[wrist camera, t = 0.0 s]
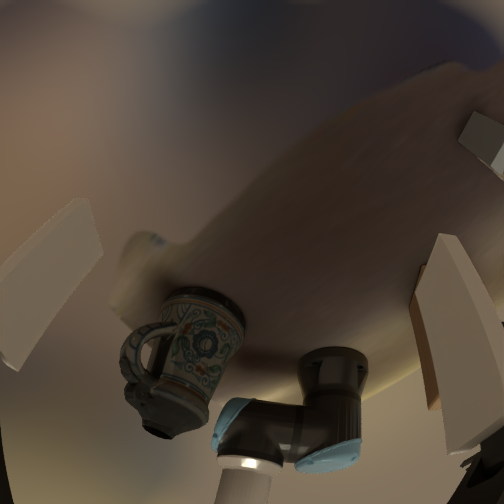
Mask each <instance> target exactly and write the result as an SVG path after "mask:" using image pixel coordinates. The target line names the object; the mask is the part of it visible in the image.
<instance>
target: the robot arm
mask: <svg viewBox="0 0 504 504" xmlns="http://www.w3.org/2000/svg"><path fill="white" fill-rule="evenodd" d="M103 254H104V253H103V250H102V247H101V243H100V240H99V236H98V233H97V230H96V226H95V222H94V219H93V215H92V211H91V207H90V204H89V200H88V198H74V199H73V200H72V201H71V202H69V203H68V204H67V205H66V206H65V207H63V208H62V209H61V210H60V211H59V212H57V213H56V214H55V215H54V216H53V217H52V218H50V220H48V221H47V222H46V223H45V224H44V225H43V226H42V227H40V228H39V229H38V230H37V231H36V232H35V233H34V234H33V235H32V236H31V237H30V238H29V239H27V240H26V241H25V242H24V243H23V244H22V245H21V246H20V247H19V248H18V249H17V250H16V251H15V252H14V253H13V254H12V255H11V256H10V257H9V258H8V259H7V260H6V261H5V262H4V263H3V264H2V265H1V266H0V358H1V359H2V360H3V362H4V363H5V364H6V365H7V366H9V367H11V368H12V369H14V370H16V371H17V372H18V371H19V370H20V368H21V366H22V365H23V363H24V362H25V360H26V359H27V357H28V355H29V354H30V352H31V351H32V349H33V348H34V346H35V345H36V343H37V342H38V340H39V339H40V337H41V336H42V334H43V333H44V331H45V330H46V329H47V327H48V326H49V324H50V323H51V321H52V320H53V319H54V317H55V316H56V314H57V313H58V312H59V310H60V309H61V307H62V306H63V305H64V304H65V302H66V301H67V300H68V298H69V297H70V295H71V294H72V293H73V292H74V290H75V289H76V288H77V286H78V285H79V284H80V283H81V281H82V280H83V279H84V277H85V276H86V275H87V274H88V272H89V271H90V270H91V269H92V268H93V266H94V265H95V264H96V263H97V261H98V260H99V259H100V258H101V257H102V255H103ZM415 294H416V297H417V301H418V304H419V307H420V311H421V315H422V318H423V322H424V326H425V330H426V334H427V338H428V342H429V346H430V350H431V355H432V359H433V364H434V369H435V373H436V379H437V384H438V389H439V395H440V401H441V408H442V414H443V422H444V429H445V439H446V449H447V455H451V454H457V453H462V452H467V451H469V450H471V449H472V448H474V447H475V446H477V445H478V444H480V446H481V451H480V452H478V453H476V454H475V455H473V456H472V457H470V458H468V459H467V460H465V461H464V462H463V463H462V464H461V465H460V467H462V468H463V467H464V466H466V465H468V464H470V463H471V462H472V463H471V465H470V467H468V468H467V469H466V471H467V472H466V474H465V476H464V477H463V479H462V481H461V482H460V484H459V486H458V487H457V489H456V491H455V492H454V494H453V495H452V497H451V498H450V500H449V502H448V503H447V504H504V322H501V320H500V318H499V316H498V314H497V311H496V309H495V307H494V305H493V303H492V301H491V299H490V296H489V294H488V292H487V290H486V288H485V286H484V284H483V282H482V281H481V279H480V277H479V275H478V273H477V271H476V269H475V267H474V266H473V264H472V262H471V260H470V258H469V257H468V255H467V253H466V251H465V250H464V248H463V246H462V245H461V243H460V241H459V240H458V238H457V236H454V235H448V234H442V233H439V234H438V237H437V240H436V242H435V245H434V248H433V250H432V253H431V255H430V258H429V260H428V263H427V265H426V268H425V270H424V273H423V275H422V277H421V280H420V282H419V284H418V286H417V289H416V291H415ZM297 376H298V380H299V384H300V388H301V391H302V395H303V405H293V404H285V403H277V402H270V401H263V400H257V399H256V398H251V399H247V398H239V397H236V398H232V399H231V400H229V401H228V402H227V403H226V404H225V406H224V407H223V409H222V411H221V413H220V415H219V418H218V420H217V423H216V426H215V428H214V434H213V436H212V440H211V448H212V450H213V451H215V452H217V453H218V455H217V458H216V460H217V462H218V463H219V464H220V466H221V467H222V475H221V479H220V482H219V487H218V490H217V494H216V498H215V502H214V504H267V502H268V497H269V492H270V486H271V480H272V478H273V476H275V475H276V474H278V473H279V472H281V471H282V468H283V462H288V463H295V465H294V467H295V469H296V471H298V472H305V473H325V472H332V471H337V470H341V469H344V468H347V467H350V466H351V465H353V464H355V463H356V462H357V461H358V459H359V457H360V448H361V443H362V439H361V395H362V392H363V389H364V386H365V383H366V379H367V376H368V361H367V359H366V357H365V356H364V355H363V354H361V353H360V352H358V351H355V350H353V349H349V348H342V347H329V348H322V349H318V350H315V351H312V352H310V353H308V354H307V355H305V356H304V357H303V358H302V359H301V360H300V361H299V364H298V372H297ZM0 504H14V502H13V499H12V495H11V490H10V486H9V481H8V476H7V471H6V466H5V460H4V454H3V446H2V438H1V428H0Z"/></svg>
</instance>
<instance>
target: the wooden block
mask: <svg viewBox="0 0 504 504" xmlns="http://www.w3.org/2000/svg"><path fill="white" fill-rule="evenodd" d="M425 268H426V265H422V267H421V270H420V274H419V277H418V281H417V284H416V288H415V291H416V289H417V286H418V284H419V282H420V280H421V277H422V275H423V273H424V270H425ZM415 291H414V294H413V297H412V300H411V304H410V307H409V312H410V316H411V320H412V325H413V329H414V333H415V338H416V342H417V347H418V352H419V357H420V362H421V368H422V373H423V379H424V385H425V391H426V397H427V406H428V410H438V409H442V408H441V401H440V395H439V389H438V384H437V379H436V373H435V369H434V364H433V359H432V355H431V350H430V346H429V342H428V338H427V334H426V330H425V326H424V322H423V318H422V315H421V311H420V307H419V304H418V301H417V297H416V294H415Z"/></svg>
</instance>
